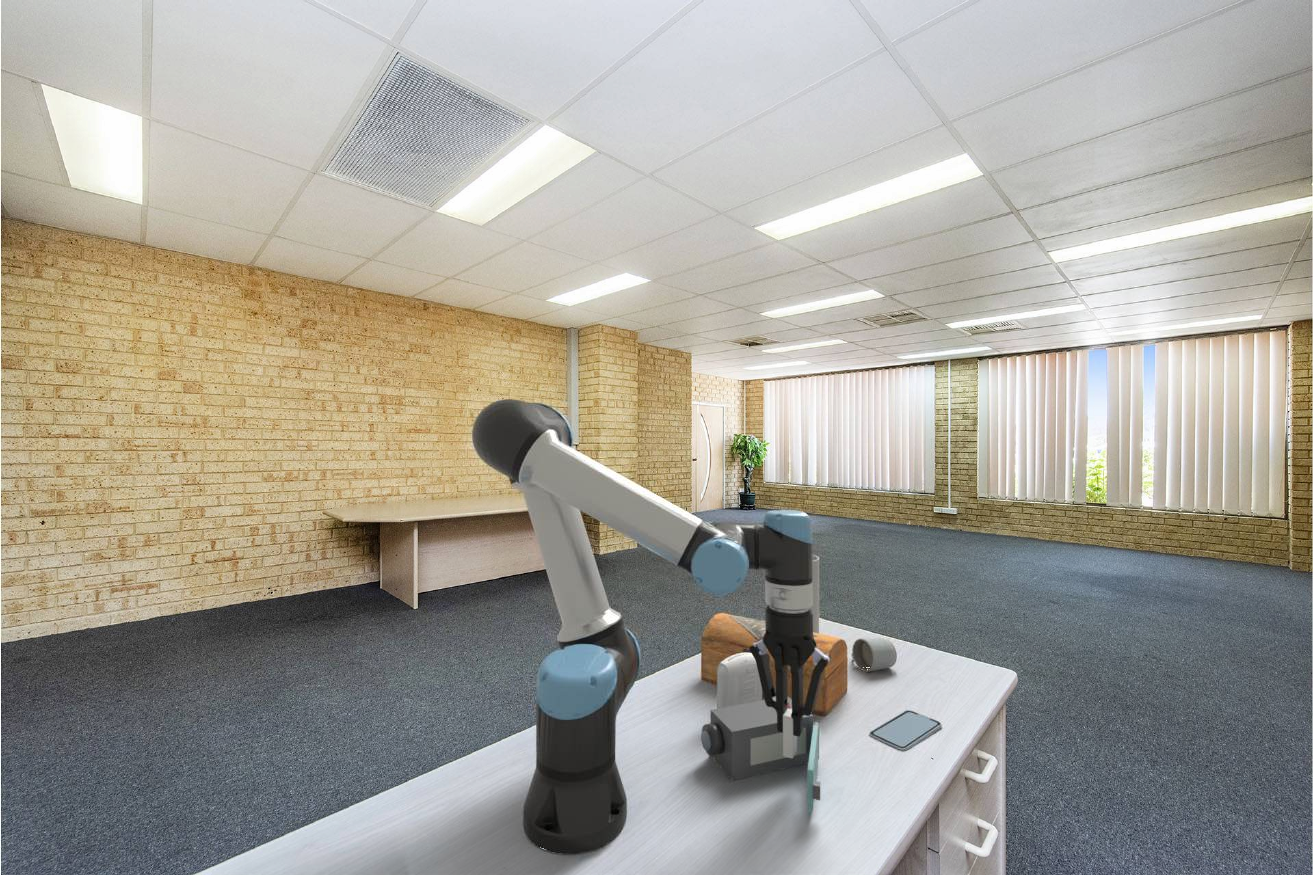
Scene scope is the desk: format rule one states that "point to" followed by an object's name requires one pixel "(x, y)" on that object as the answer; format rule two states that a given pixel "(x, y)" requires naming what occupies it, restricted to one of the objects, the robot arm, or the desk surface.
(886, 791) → the desk surface
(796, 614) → the robot arm
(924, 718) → the smartphone
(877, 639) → the ceramic mug
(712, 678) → the wooden box
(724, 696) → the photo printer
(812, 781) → the side door
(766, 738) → the camera body
